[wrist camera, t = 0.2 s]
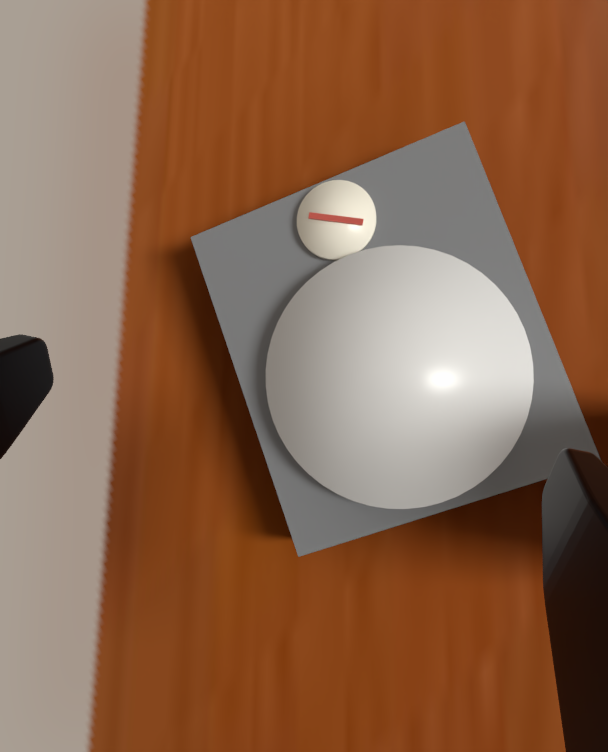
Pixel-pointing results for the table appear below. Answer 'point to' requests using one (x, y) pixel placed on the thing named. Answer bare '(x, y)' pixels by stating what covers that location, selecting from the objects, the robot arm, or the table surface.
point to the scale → (390, 344)
